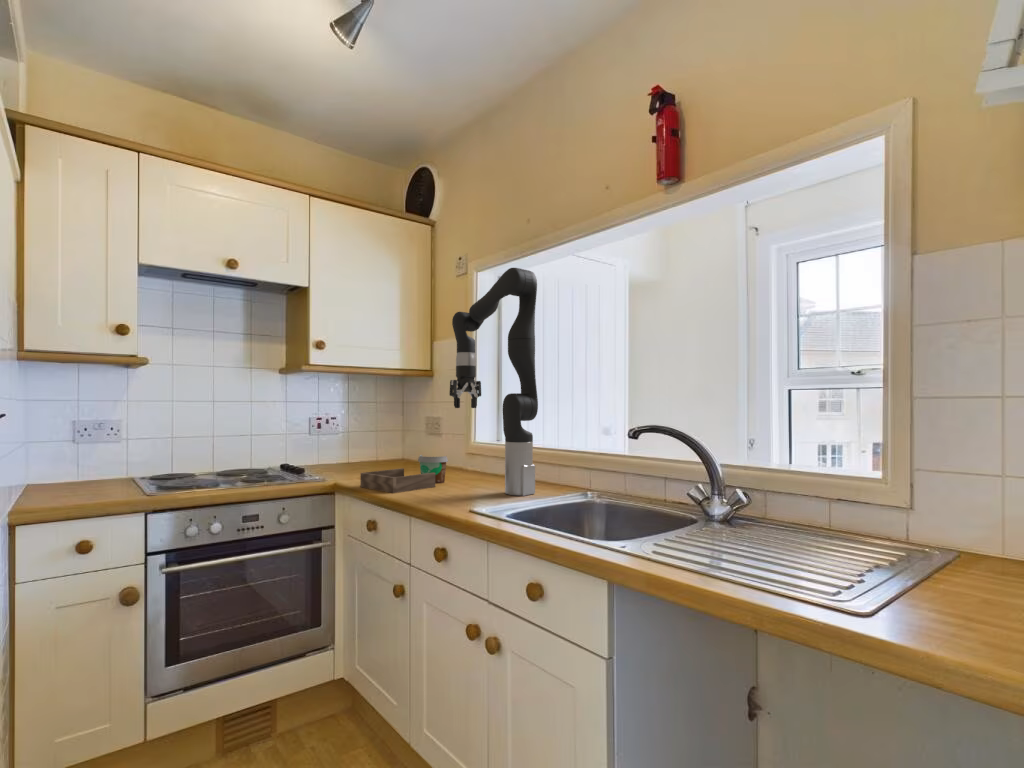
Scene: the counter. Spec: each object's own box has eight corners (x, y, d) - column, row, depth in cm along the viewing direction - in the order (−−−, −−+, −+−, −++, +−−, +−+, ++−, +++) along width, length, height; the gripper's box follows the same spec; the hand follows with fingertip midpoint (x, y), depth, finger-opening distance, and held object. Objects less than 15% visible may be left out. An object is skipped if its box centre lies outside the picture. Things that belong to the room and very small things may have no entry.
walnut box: (435, 486, 193) (435, 472, 193) (393, 493, 180) (393, 478, 180) (402, 481, 206) (402, 468, 206) (360, 486, 192) (360, 472, 193)
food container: (411, 482, 203) (411, 456, 203) (420, 480, 209) (421, 454, 209) (438, 485, 198) (438, 457, 198) (447, 482, 203) (447, 456, 203)
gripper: (458, 363, 196) (458, 408, 195) (486, 365, 207) (486, 408, 206) (445, 364, 201) (444, 408, 200) (472, 366, 212) (472, 407, 211)
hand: (465, 408), depth 203 cm, fingers open, 8 cm apart
